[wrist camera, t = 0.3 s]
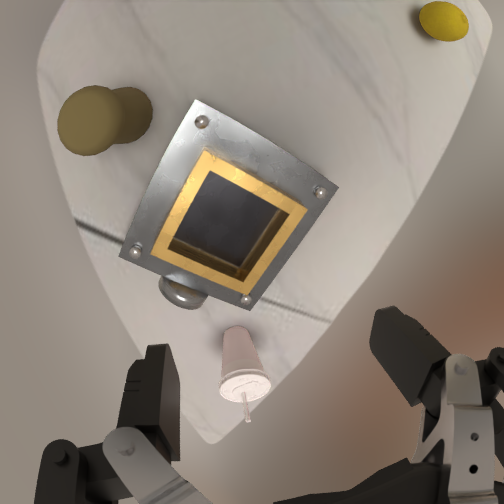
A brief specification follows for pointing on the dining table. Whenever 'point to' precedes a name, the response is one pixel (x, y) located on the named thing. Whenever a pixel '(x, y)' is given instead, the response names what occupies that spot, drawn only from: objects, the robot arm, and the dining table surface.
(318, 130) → the dining table surface
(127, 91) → the olive pestle shaped cylinder
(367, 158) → the dining table surface
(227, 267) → the square socket fixture
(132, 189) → the dining table surface
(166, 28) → the dining table surface
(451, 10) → the lemon
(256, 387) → the smoothie
